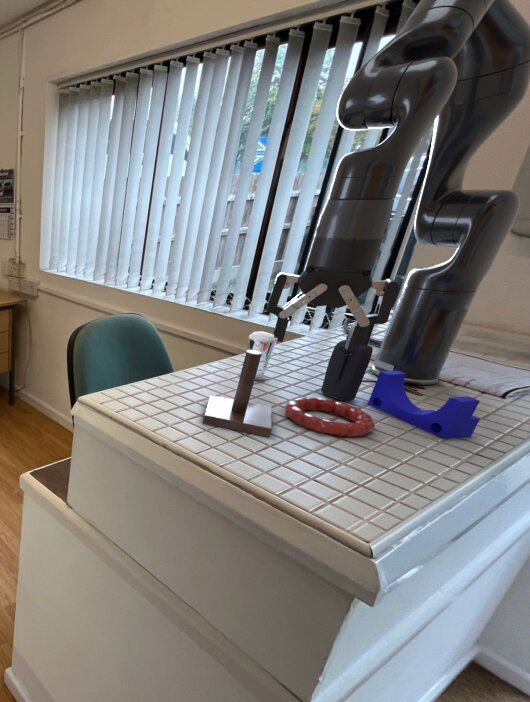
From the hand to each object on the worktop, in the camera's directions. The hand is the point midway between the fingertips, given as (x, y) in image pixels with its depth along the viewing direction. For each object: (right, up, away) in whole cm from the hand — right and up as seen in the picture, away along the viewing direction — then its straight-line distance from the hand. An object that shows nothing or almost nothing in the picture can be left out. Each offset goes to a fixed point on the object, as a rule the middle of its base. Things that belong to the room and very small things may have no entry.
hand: (312, 344), depth 70 cm
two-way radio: (+12, -8, +11) cm, 18 cm away
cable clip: (+19, -12, +3) cm, 22 cm away
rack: (-9, -12, +4) cm, 15 cm away
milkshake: (+4, -4, +20) cm, 21 cm away
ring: (+4, -11, +2) cm, 12 cm away
